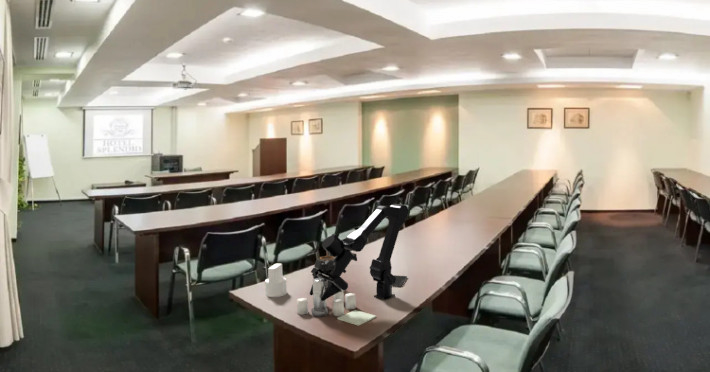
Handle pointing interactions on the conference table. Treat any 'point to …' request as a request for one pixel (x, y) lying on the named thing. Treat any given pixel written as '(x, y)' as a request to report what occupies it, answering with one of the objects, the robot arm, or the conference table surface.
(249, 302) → the conference table surface
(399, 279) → the phone
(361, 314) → the sage mat
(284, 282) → the cylinder with rectangular tab
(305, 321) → the conference table surface
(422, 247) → the conference table surface
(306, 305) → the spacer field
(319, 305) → the silver cylinder
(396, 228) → the robot arm
